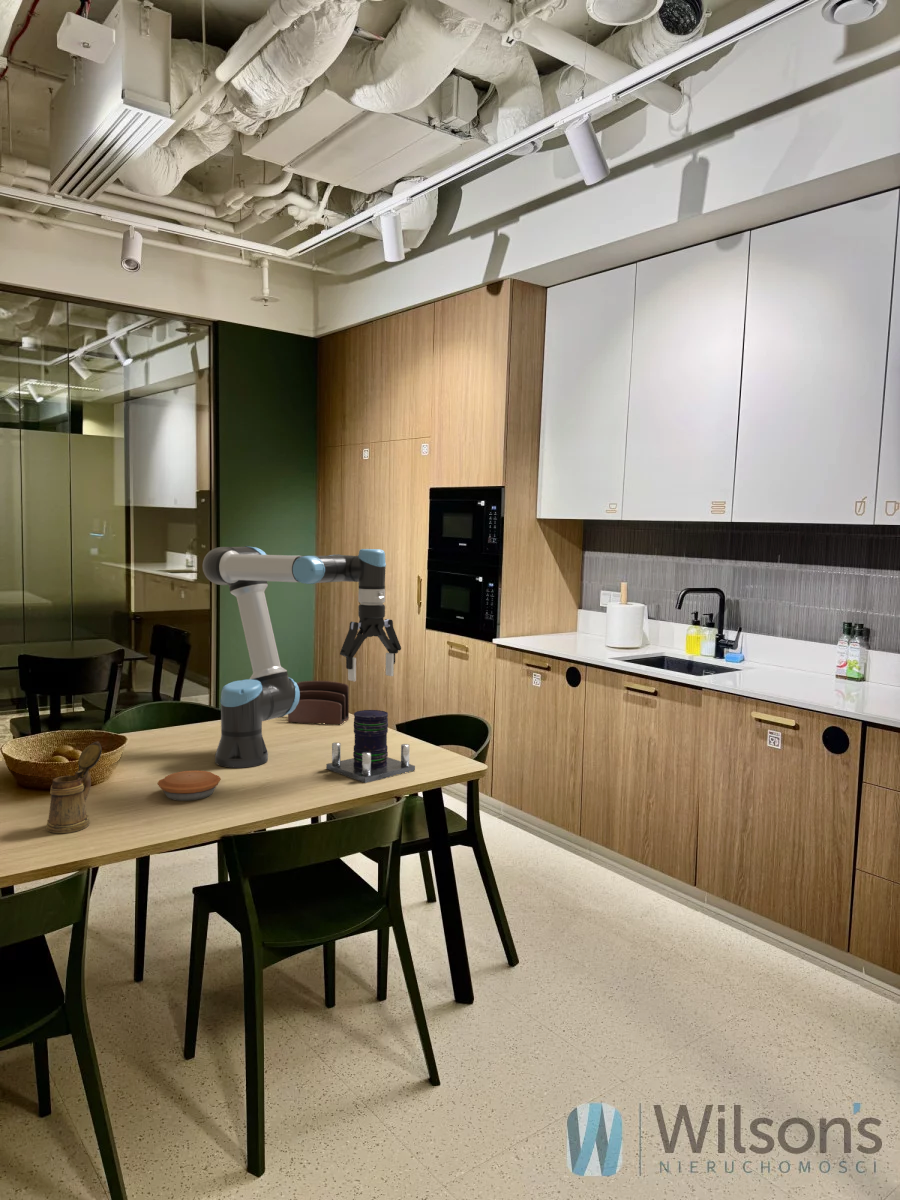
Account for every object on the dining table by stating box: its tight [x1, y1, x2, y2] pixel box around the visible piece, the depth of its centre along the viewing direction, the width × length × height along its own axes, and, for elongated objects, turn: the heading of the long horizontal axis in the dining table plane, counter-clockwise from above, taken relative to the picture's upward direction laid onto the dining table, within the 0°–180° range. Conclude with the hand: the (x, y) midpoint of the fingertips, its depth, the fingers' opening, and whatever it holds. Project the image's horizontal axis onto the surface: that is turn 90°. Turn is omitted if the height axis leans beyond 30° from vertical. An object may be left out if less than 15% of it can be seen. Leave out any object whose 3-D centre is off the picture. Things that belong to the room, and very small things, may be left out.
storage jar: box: [352, 709, 389, 769], centre depth 243 cm, size 10×10×15 cm
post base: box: [325, 742, 416, 784], centre depth 243 cm, size 18×18×8 cm
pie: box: [157, 770, 222, 802], centre depth 219 cm, size 15×16×5 cm
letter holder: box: [287, 680, 350, 725], centre depth 305 cm, size 10×20×14 cm, turn 81°
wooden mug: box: [45, 740, 103, 834], centre depth 195 cm, size 9×14×18 cm, turn 153°
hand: (371, 678), depth 242 cm, fingers open, 13 cm apart
